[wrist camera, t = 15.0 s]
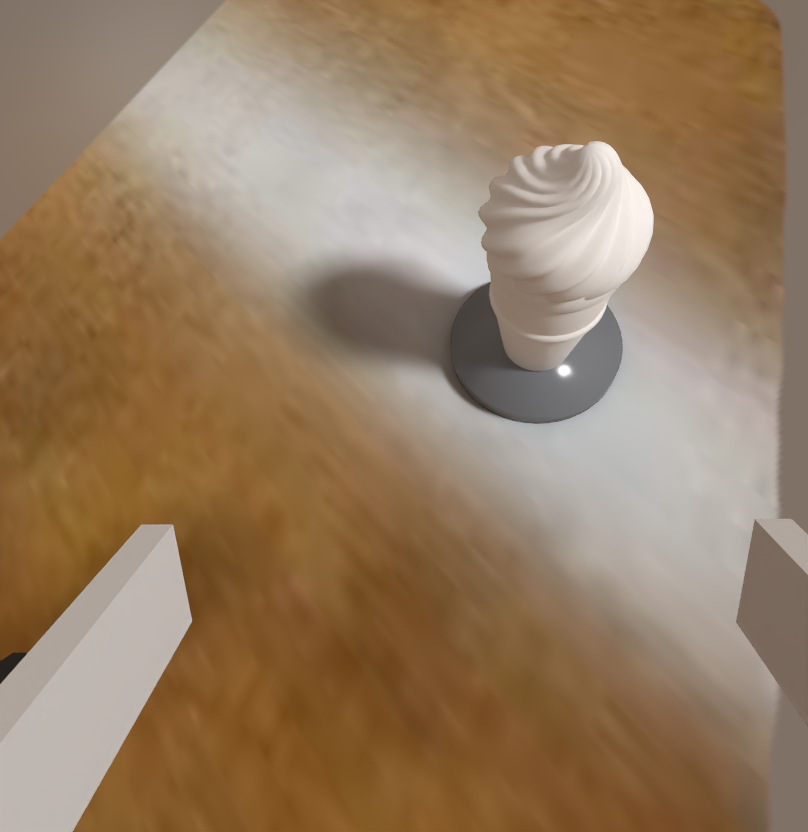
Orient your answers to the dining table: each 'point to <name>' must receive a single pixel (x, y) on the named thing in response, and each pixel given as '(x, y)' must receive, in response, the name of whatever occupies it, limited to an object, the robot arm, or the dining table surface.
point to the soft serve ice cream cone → (560, 246)
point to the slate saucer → (524, 389)
